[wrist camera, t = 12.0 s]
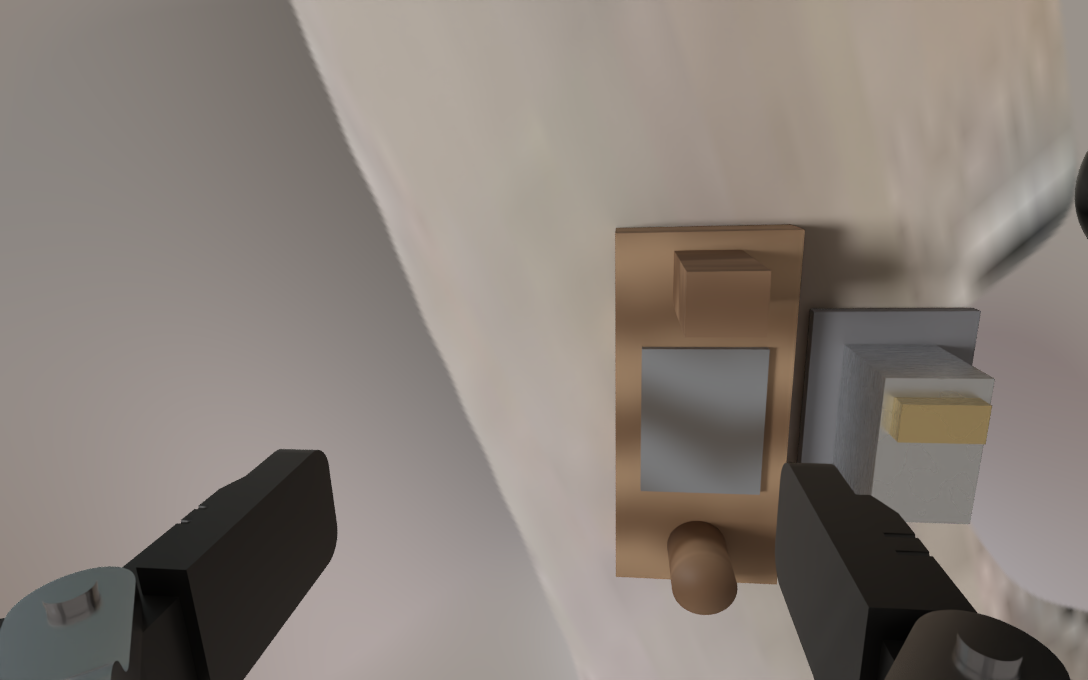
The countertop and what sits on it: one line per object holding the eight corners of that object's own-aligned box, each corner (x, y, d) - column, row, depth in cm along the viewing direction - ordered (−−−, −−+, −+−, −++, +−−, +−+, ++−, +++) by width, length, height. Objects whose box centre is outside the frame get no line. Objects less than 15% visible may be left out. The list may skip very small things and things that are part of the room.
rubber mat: (810, 308, 37) (814, 311, 36) (973, 307, 36) (980, 311, 35) (794, 489, 40) (798, 495, 39) (943, 493, 39) (950, 500, 38)
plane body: (615, 228, 37) (613, 250, 28) (790, 224, 36) (851, 246, 26) (616, 549, 43) (614, 659, 33) (766, 555, 42) (808, 671, 32)
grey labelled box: (844, 344, 37) (894, 384, 30) (935, 344, 36) (1006, 386, 29) (831, 467, 39) (875, 531, 32) (917, 469, 38) (980, 535, 31)
